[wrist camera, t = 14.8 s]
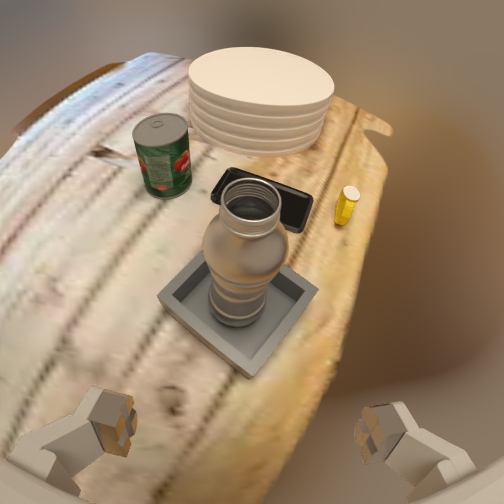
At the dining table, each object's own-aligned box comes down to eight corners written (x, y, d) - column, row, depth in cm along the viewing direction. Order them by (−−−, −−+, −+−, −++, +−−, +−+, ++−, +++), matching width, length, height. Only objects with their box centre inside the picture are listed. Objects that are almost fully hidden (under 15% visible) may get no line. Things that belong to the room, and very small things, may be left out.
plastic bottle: (211, 278, 36) (203, 158, 19) (264, 283, 36) (302, 168, 19) (206, 328, 33) (186, 238, 15) (263, 332, 33) (308, 249, 16)
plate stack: (234, 77, 65) (237, 40, 55) (335, 113, 61) (348, 74, 51) (162, 127, 52) (157, 79, 42) (290, 179, 47) (305, 126, 38)
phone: (229, 165, 46) (315, 196, 45) (229, 170, 47) (313, 200, 46) (207, 198, 43) (302, 233, 41) (207, 202, 44) (300, 237, 42)
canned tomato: (199, 189, 44) (196, 134, 35) (152, 206, 42) (138, 153, 32) (182, 159, 47) (177, 107, 38) (140, 174, 45) (127, 123, 35)
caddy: (164, 309, 34) (156, 295, 30) (227, 244, 40) (228, 224, 35) (248, 379, 31) (253, 376, 27) (307, 303, 37) (319, 289, 32)
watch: (345, 233, 43) (359, 212, 38) (328, 228, 43) (341, 206, 38) (348, 203, 46) (361, 181, 40) (332, 198, 46) (344, 176, 41)
